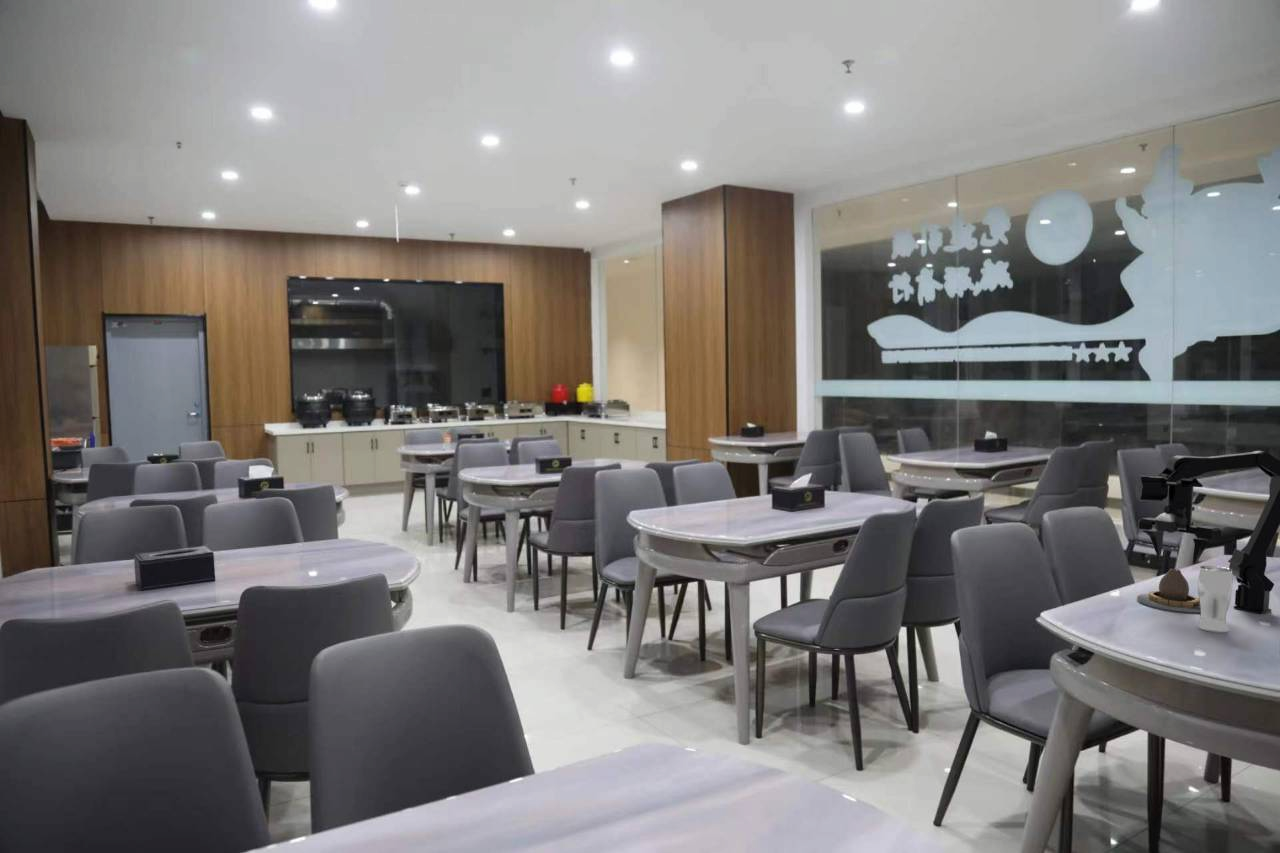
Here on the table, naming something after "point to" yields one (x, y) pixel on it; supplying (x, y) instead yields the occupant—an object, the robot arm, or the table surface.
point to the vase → (1174, 586)
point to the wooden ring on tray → (1170, 603)
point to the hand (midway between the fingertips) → (1176, 559)
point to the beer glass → (1214, 597)
